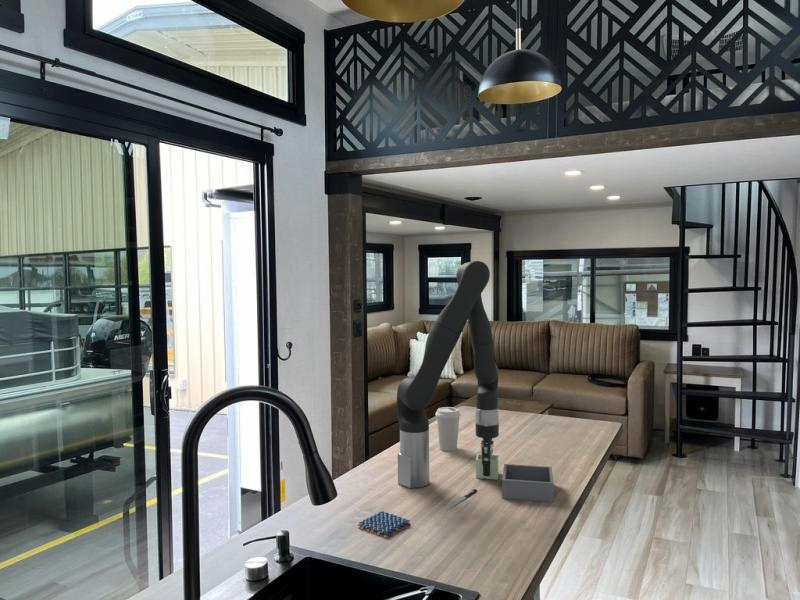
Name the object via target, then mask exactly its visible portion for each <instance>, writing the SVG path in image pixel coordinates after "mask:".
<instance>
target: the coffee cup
mask: <svg viewBox="0 0 800 600" xmlns="http://www.w3.org/2000/svg"><path fill="white" fill-rule="evenodd" d="M461 415H462V414H461V412H460V410H459V408H457V407H453V406H451V407H450V406H444V407H438V408H437V410H436V411H435V416H436V422H437V434H438V435H437V436H438V445H439V450H440V449H441V450H440V451H442V450H444V451H443V452H454V451H453V450H455V451H456V449H458V437H459V436H458V435H459V425H460V417H461Z"/></svg>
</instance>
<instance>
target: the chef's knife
mask: <svg viewBox="0 0 800 600" xmlns="http://www.w3.org/2000/svg"><path fill="white" fill-rule="evenodd" d="M475 492H476V493H477V492H478V489H475V488H473V489H472V491H470V492H469V493H467V494H465V495H464V496H457V497H455V498H454V499H453V500H452V501H450V502H449V503H447V505H446V506H447V507H445V509H444V510H445V512H447V511H449V510H450V509H452V508H454V507H456V506H457V505H458V503H459V504H461V502H464V501H466V500H467V499H468V498H470V497H471V496H473V495H474V494H476V493H475Z"/></svg>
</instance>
